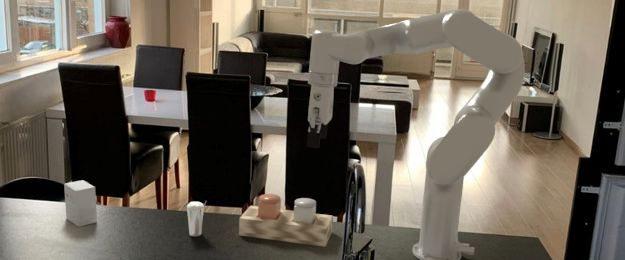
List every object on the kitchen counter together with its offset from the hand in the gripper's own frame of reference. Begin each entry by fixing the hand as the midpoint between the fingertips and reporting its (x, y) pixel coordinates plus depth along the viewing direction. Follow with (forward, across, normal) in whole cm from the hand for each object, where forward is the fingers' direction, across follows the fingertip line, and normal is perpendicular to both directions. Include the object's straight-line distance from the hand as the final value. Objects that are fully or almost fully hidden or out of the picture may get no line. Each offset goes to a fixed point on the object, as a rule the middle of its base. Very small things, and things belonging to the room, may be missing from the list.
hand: (316, 142), depth 162 cm
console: (+27, 0, +6) cm, 28 cm away
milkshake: (+29, -8, +29) cm, 41 cm away
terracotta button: (+23, 0, +11) cm, 26 cm away
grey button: (+23, 0, +1) cm, 23 cm away
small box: (+30, -9, +63) cm, 70 cm away
